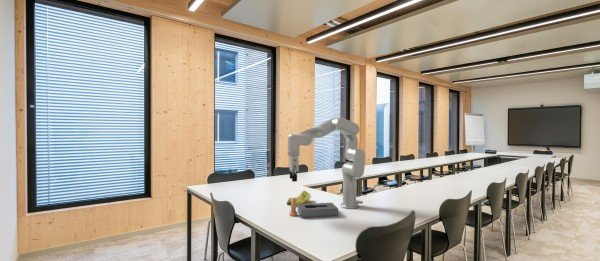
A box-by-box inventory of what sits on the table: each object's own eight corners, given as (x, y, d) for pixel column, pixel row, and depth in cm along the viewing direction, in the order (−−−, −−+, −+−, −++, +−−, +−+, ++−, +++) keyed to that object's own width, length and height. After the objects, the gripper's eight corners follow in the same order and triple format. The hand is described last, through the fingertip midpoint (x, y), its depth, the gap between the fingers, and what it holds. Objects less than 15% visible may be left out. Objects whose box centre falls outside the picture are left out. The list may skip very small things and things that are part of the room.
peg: (296, 213, 186) (296, 197, 186) (297, 216, 181) (297, 199, 181) (289, 214, 185) (289, 197, 185) (290, 216, 180) (290, 199, 180)
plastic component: (299, 204, 200) (288, 196, 205) (295, 212, 203) (285, 204, 207) (313, 196, 217) (303, 189, 221) (309, 204, 219) (299, 196, 224)
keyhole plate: (331, 209, 195) (331, 202, 195) (338, 216, 181) (338, 208, 181) (297, 211, 191) (297, 204, 191) (301, 218, 177) (301, 210, 177)
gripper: (301, 154, 175) (301, 182, 175) (297, 152, 192) (296, 177, 192) (289, 154, 173) (289, 182, 174) (286, 152, 190) (285, 177, 191)
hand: (293, 179), depth 183 cm, fingers open, 9 cm apart
